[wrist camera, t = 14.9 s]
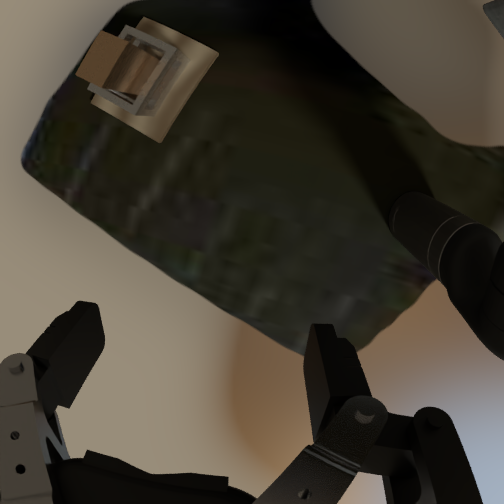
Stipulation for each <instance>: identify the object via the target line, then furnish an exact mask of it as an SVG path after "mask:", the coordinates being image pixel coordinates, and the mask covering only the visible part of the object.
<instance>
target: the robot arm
mask: <svg viewBox="0 0 504 504" xmlns="http://www.w3.org/2000/svg"><path fill="white" fill-rule="evenodd" d="M389 228H390V231H391V233H392V235H393V236H394V237H395V238H396V240H398V241H399V242H400V243H401V244H402V245H403V246H404V247H405V248H406V249H407V250H408V251H409V252H410V253H411V254H412V255H413V256H414V257H415V258H416V259H417V260H418V261H419V262H420V263H422V264H423V265H424V266H425V267H426V268H427V269H428V270H429V271H430V272H431V273H432V274H433V275H434V276H435V277H436V278H437V279H438V280H439V281H440V282H441V283H442V284H443V285H444V286H445V288H446V289H447V292H448V296H449V298H450V300H451V302H452V303H453V305H454V306H455V308H457V310H458V311H459V313H460V314H461V315H462V317H463V318H464V319H465V321H466V322H467V323H468V325H469V326H470V328H471V329H472V330H473V332H474V333H475V334H476V336H477V337H478V338H479V340H480V341H481V342H482V343H483V344H484V345H485V346H486V347H487V348H488V349H489V350H490V351H491V352H492V353H493V354H495V355H496V356H497V357H499V358H500V359H502V360H504V242H503V243H502V241H501V239H500V238H499V236H498V235H497V234H496V233H495V232H494V231H492V230H491V229H489V228H488V227H486V226H484V225H482V224H481V223H479V222H477V221H475V220H473V219H472V218H470V217H468V216H466V215H464V214H462V213H460V212H459V211H457V210H455V209H453V208H451V207H449V206H447V205H445V204H443V203H441V202H439V201H437V200H436V199H434V198H432V197H430V196H428V195H425V194H423V193H421V192H417V191H413V192H408V193H405V194H403V195H402V196H400V197H399V198H398V199H397V200H396V201H395V203H394V204H393V206H392V208H391V210H390V214H389ZM104 345H105V335H104V330H103V326H102V321H101V316H100V311H99V307H98V305H97V304H96V303H92V302H85V301H77V302H76V303H75V305H74V306H73V307H72V308H71V309H70V310H69V311H66V312H65V313H63V314H61V315H59V316H58V317H57V318H55V319H54V321H53V322H52V323H51V324H50V327H47V329H46V330H45V331H44V333H42V334H41V336H40V337H39V338H38V339H37V340H36V342H35V343H34V344H33V345H32V346H31V348H30V349H29V350H28V351H27V352H26V354H22V353H17V354H13V355H10V356H8V357H7V358H5V359H4V360H3V361H2V363H1V364H0V504H337V503H338V501H339V500H340V499H341V497H342V496H343V494H344V493H345V491H346V490H347V488H348V487H349V485H350V484H351V482H352V481H353V479H354V478H355V476H356V475H357V473H358V472H364V473H370V474H376V475H382V478H383V484H384V490H385V495H386V501H387V504H483V502H482V499H481V496H480V493H479V490H478V487H477V484H476V481H475V478H474V475H473V472H472V470H471V467H470V464H469V461H468V459H467V456H466V454H465V451H464V448H463V446H462V444H461V441H460V438H459V436H458V434H457V431H456V429H455V426H454V424H453V421H452V419H451V418H450V417H449V415H448V414H447V413H446V412H444V411H443V410H441V409H439V408H436V407H424V408H422V409H420V410H418V411H417V412H416V414H415V415H414V417H409V416H403V415H397V414H392V413H389V412H387V409H386V407H385V406H384V405H383V403H381V402H380V401H379V400H377V399H375V398H373V397H372V395H371V392H370V389H369V386H368V383H367V380H366V378H365V375H364V372H363V369H362V367H361V364H360V361H359V359H358V355H357V353H356V350H355V347H354V346H353V345H352V344H351V343H350V342H349V341H348V340H347V339H346V338H337V335H336V332H335V329H334V326H333V325H332V324H312V325H311V327H310V331H309V336H308V341H307V346H306V351H305V356H304V365H303V367H304V368H303V369H304V378H305V385H306V391H307V398H308V405H309V412H310V420H311V426H312V434H313V442H314V444H313V445H308V446H306V447H305V448H304V449H303V450H302V451H301V453H300V454H299V455H298V456H297V457H296V458H295V460H293V462H292V463H291V464H290V465H289V466H288V467H287V468H286V469H285V470H284V472H283V473H282V474H281V475H280V476H279V477H278V478H277V479H276V480H275V481H274V482H273V483H272V484H271V485H270V486H269V488H267V489H266V491H265V492H263V494H261V495H260V497H259V498H255V497H254V496H252V495H250V494H248V493H246V492H245V491H242V490H240V489H237V488H234V487H231V486H228V477H225V476H213V475H205V474H197V473H178V474H150V473H147V472H145V471H143V470H141V469H138V468H136V467H134V466H132V465H130V464H128V463H126V462H124V461H122V460H120V459H118V458H114V457H111V456H107V455H103V454H100V453H97V452H93V451H90V450H87V451H86V453H85V456H84V458H72V459H71V458H70V456H69V454H68V452H67V448H66V445H65V442H64V438H63V434H62V431H61V427H60V423H59V419H58V415H57V413H56V411H55V410H56V408H57V406H58V405H59V406H63V407H66V408H70V406H71V405H72V403H73V401H74V399H75V397H76V396H77V394H78V392H79V390H80V389H81V387H82V385H83V383H84V382H85V380H86V378H87V376H88V374H89V373H90V371H91V370H92V368H93V366H94V364H95V363H96V361H97V359H98V358H99V356H100V354H101V353H102V351H103V349H104Z"/></svg>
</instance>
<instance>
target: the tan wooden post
mask: <svg viewBox="0 0 504 504" xmlns="http://www.w3.org/2000/svg"><path fill="white" fill-rule="evenodd" d="M159 61H160V60H158V59H157V58H155V57H154V56H152V55H150V54H149V53H147V52H145V51H144V50H142V49H140V48H138V47H137V46H135V45H133V44H131V43H130V42H128V41H126V40H123V39H121V38H119V37H116V36H114V35H111V34H109V33H107V32H104V31H102V30H101V31H100V33H99V34H98V36H97V37H96V39H95V41H94V42H93V44H92V46H91V47H90V49H89V51H88V53H87V54H86V56H85V58H84V60H83V61H82V63H81V65H80V67H79V69H78V71H77V73H76V75H77V76H79V77H81V78H83V79H85V80H87V81H89V82H91V83H93V84H95V85H97V86H98V87H100V88H104V89H110V90H115V91H120V92H125V93H130V94H135V95H139V93H140V92H141V90H142V88H143V87H144V85H145V83H146V82H147V80H148V78H149V77H150V75H151V74H152V72H153V71H154V69H155V68H156V66H157V64H158V63H159Z"/></svg>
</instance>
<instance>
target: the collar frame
mask: <svg viewBox="0 0 504 504" xmlns="http://www.w3.org/2000/svg"><path fill="white" fill-rule="evenodd" d="M118 37H119V38H121V39H123V40H126V41H128V42H130V41H131V39H132V38H134V39H136V40H135V41H134V43H133V45H135V46H137V47H138V48H140V49H142V50H144V51H145V49H146V48H147V46H148V47H150V48H152V49H154V50H156V51H158V52H160V53H162V54H164V56H163V57H162V58H161V60H160V61H159V63H158V64H157V66H156V68H155V69H154V71H153V72H152V74H151V75H150V77H149V78H148V80H147V82H146V83H145V85H144V87H143V88H142V90H141V92H140V93H139V95H138V97H137V98H134V97H132V96H131V95H129V94H127V93H125V92H120V91H115V90H110V89H104V88H100V87H98V86H97V85H95V84H93V83H90V85H89V87H88V90H90V91H92V92H94V93H96V94H97V95H99V96H101V97H103V98H105V99H106V100H108V101H110V102H112V103H114V104H115V105H117V106H119V107H121V108H122V109H124V110H126V111H128V112H129V113H131V114H133V115H135V116H152V117H155V115H156V113H157V112H158V110H159V108H160V107H161V105H162V104H163V102H164V100H165V99H166V97H167V96H168V94H169V92H170V91H171V89H172V88H173V86H174V85H175V83H176V82H177V80H178V79H179V77H180V76H181V74H182V73H183V71H184V70H185V68H186V67H187V65H188V64H189V62H190V61H191V60H189V59H188V58H187V57H186V56H185V55H184V54H183V53H182V52H181V51H180V50H178V49H177V48H175V47H173V46H171V45H169V44H167V43H165V42H163V41H161V40H159V39H157V38H155V37H153V36H150V35H148V34H146V33H144V32H142V31H139V30H137V29H135V28H133V27H130V26H128V25H126V26H125V27H124V29H123V30H122V32H121V33H120V35H119V36H118ZM174 61H175V62H174ZM172 64H173V65H172ZM170 67H171V68H170ZM168 70H169V71H168ZM166 73H167V74H166ZM164 76H165V77H164ZM162 79H163V80H162ZM161 81H162V82H161ZM160 82H161V83H160ZM159 84H160V85H159ZM157 87H158V88H157ZM155 90H156V91H155ZM154 92H155V93H154ZM152 95H153V96H152ZM151 97H152V98H151ZM150 98H151V99H150ZM149 100H150V101H149ZM147 103H148V104H147Z"/></svg>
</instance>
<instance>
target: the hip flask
mask: <svg viewBox="0 0 504 504" xmlns="http://www.w3.org/2000/svg"><path fill="white" fill-rule="evenodd" d="M483 9H484V12H485V14H486V15H487V16H488V18H489V19H490V21H491V22H492V24H493V25H494V26H495V28H496V29H497V30H498V32H499V33H500V34H501V36H502V37H503V38H504V0H494V1H491V2H489V3H486V4H484V5H483Z"/></svg>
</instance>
